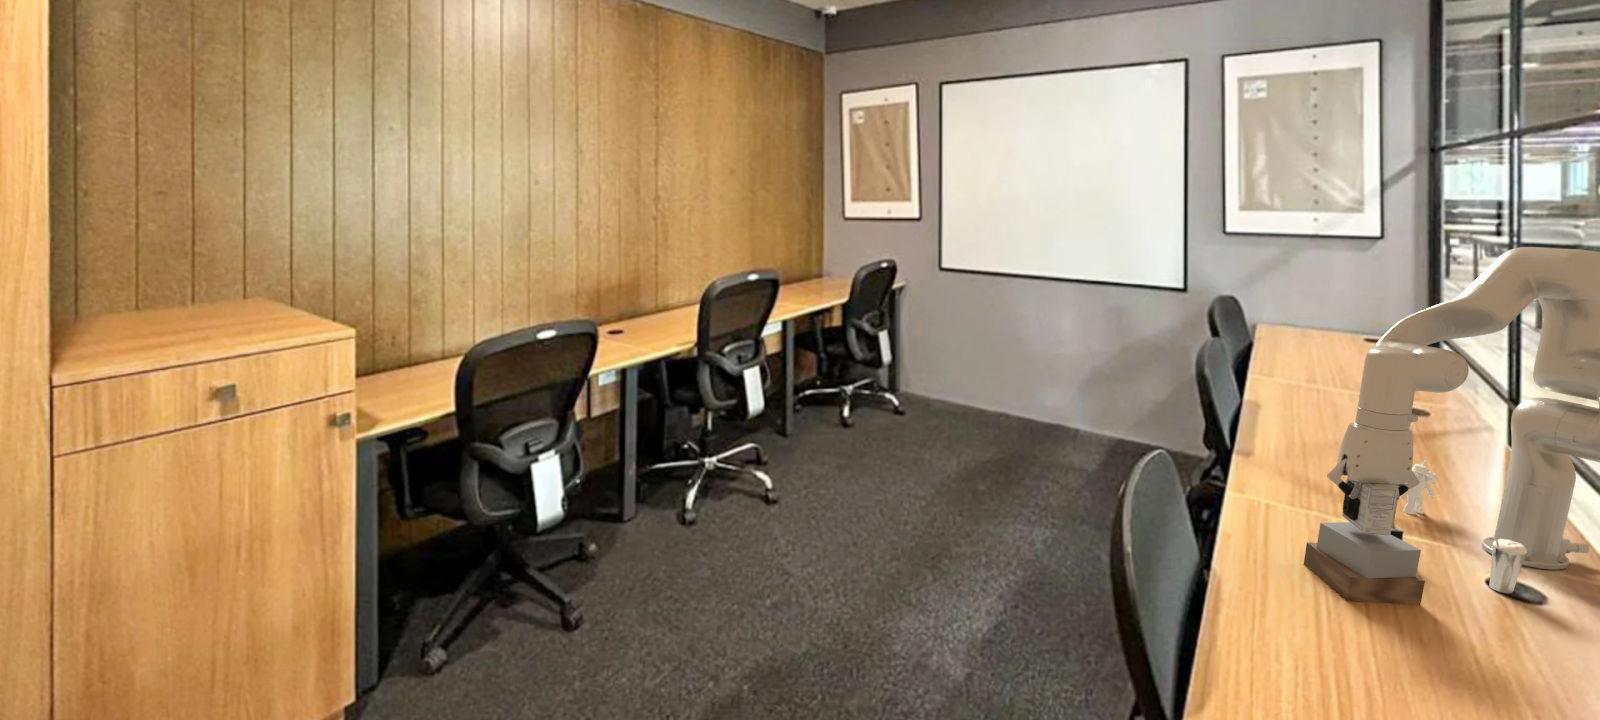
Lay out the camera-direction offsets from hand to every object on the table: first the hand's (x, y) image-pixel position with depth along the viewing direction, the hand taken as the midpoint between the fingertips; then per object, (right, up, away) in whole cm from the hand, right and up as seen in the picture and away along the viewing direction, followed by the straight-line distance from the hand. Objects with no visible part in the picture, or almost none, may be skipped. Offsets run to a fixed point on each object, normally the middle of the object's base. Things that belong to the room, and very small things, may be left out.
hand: (1366, 517), depth 139 cm
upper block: (+1, -8, +1) cm, 8 cm away
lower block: (+1, -13, +3) cm, 13 cm away
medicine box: (0, -2, 0) cm, 2 cm away
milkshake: (+25, -13, +1) cm, 28 cm away
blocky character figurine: (+37, -6, +36) cm, 52 cm away
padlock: (+12, -11, +14) cm, 21 cm away
